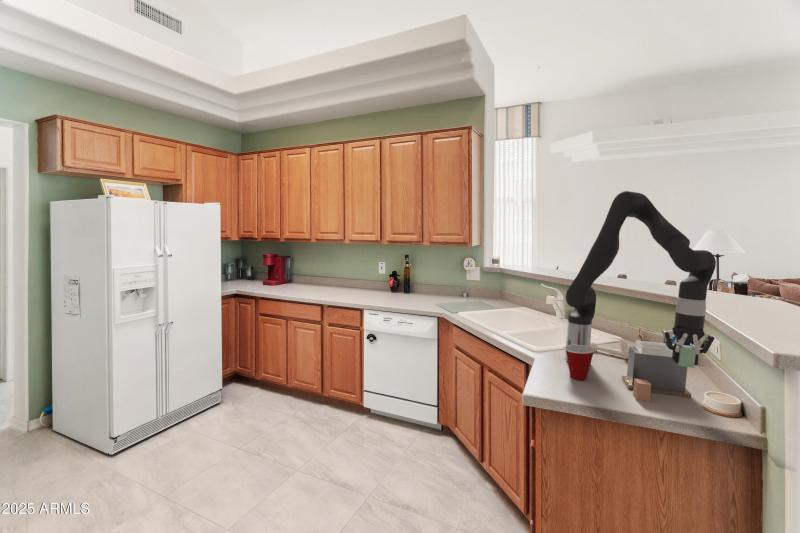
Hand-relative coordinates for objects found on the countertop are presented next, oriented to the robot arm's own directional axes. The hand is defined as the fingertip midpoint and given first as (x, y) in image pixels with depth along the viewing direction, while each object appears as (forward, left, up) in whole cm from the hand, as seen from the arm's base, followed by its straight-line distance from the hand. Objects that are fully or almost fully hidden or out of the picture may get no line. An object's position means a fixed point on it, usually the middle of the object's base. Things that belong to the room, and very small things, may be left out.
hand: (684, 363), depth 122 cm
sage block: (0, 0, -1) cm, 1 cm away
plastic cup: (-30, +12, -14) cm, 35 cm away
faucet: (-13, +47, -14) cm, 51 cm away
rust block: (-11, 0, -14) cm, 18 cm away
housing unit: (-4, +12, -14) cm, 19 cm away
